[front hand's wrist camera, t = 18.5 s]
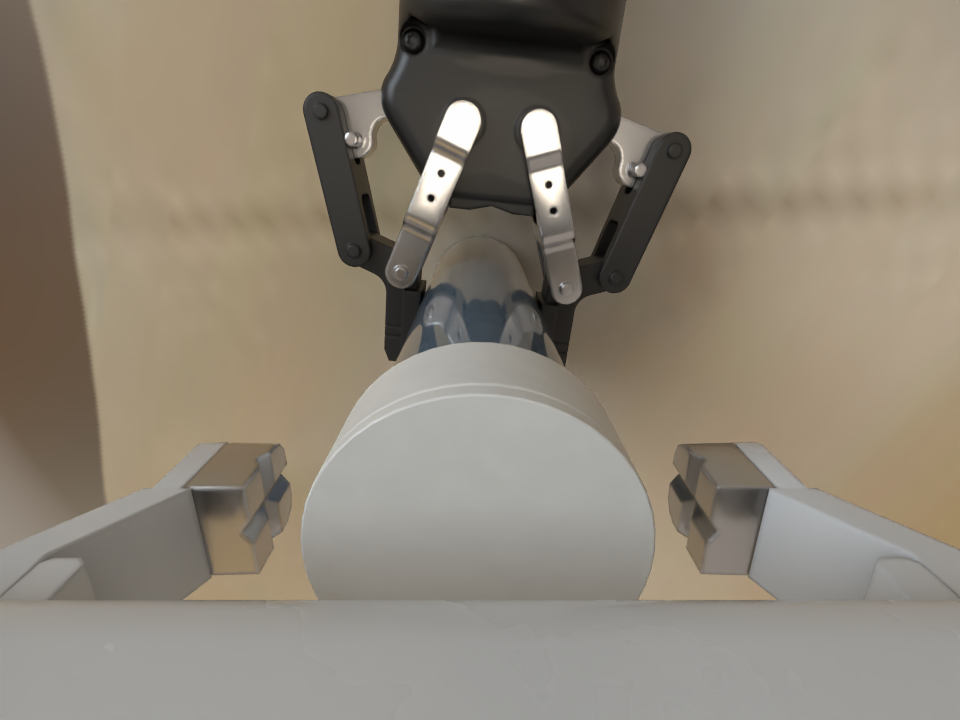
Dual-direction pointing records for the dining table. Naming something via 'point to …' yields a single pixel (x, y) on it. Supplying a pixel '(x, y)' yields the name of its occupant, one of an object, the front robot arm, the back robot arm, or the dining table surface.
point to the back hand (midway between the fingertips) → (473, 373)
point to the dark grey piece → (479, 303)
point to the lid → (478, 487)
